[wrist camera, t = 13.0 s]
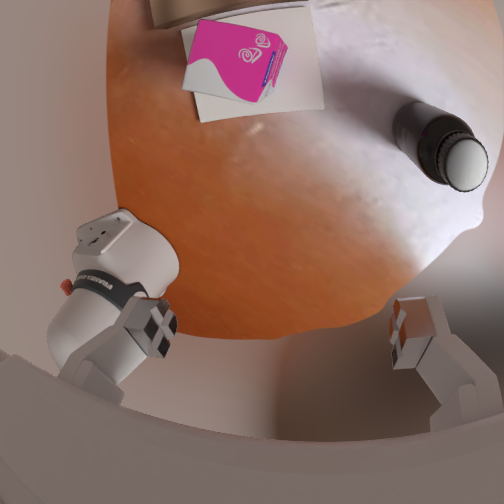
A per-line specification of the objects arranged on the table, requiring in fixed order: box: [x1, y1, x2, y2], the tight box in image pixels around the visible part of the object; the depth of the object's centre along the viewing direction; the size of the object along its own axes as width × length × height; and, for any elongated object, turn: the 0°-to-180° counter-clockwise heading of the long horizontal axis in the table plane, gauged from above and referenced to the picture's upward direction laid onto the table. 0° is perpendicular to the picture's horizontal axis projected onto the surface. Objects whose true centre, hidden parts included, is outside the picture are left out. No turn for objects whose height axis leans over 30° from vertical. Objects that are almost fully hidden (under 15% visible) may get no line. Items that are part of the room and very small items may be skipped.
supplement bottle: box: [393, 102, 488, 192], centre depth 20 cm, size 7×7×12 cm
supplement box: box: [182, 19, 288, 106], centre depth 19 cm, size 6×6×12 cm
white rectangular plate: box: [181, 7, 325, 123], centre depth 24 cm, size 14×12×1 cm
